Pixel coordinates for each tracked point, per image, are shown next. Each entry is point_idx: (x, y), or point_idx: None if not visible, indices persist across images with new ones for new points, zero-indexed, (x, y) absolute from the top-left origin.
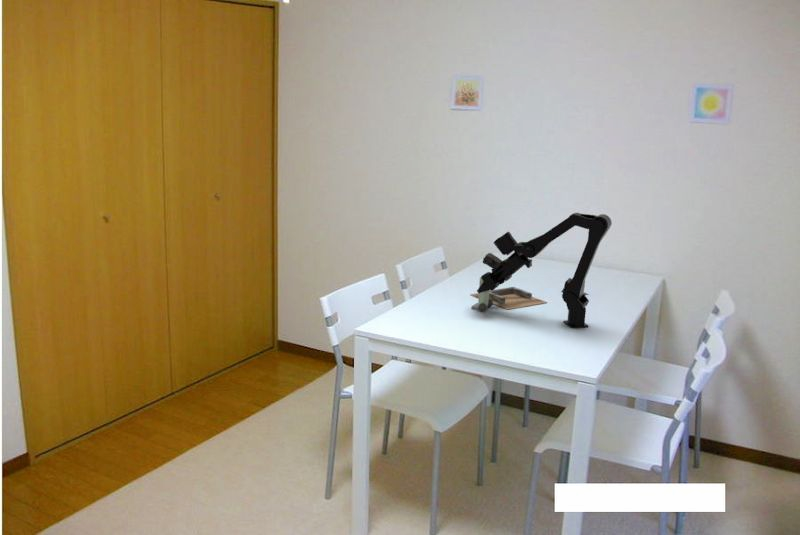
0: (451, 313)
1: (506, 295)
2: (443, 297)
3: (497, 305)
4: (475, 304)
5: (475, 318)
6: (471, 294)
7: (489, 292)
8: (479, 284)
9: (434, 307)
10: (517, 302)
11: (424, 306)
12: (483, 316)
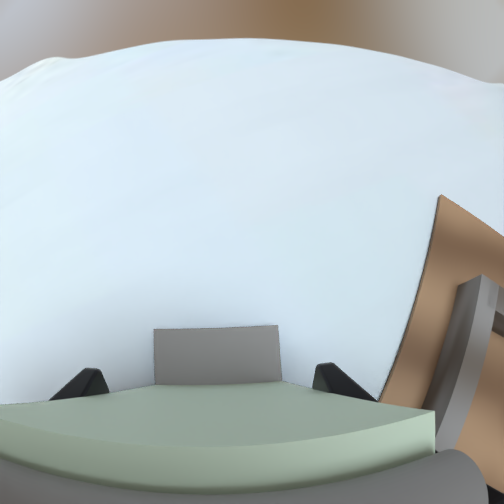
0: (21, 255)
1: None
2: (295, 99)
3: None
4: (223, 335)
5: None
6: (444, 201)
7: (484, 315)
8: (53, 402)
9: (89, 136)
10: None
11: (90, 102)
12: None
